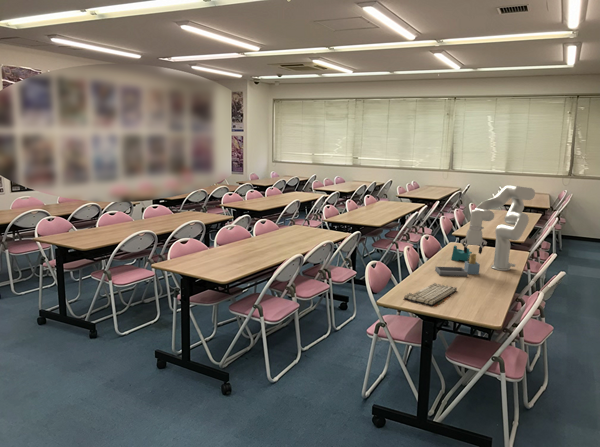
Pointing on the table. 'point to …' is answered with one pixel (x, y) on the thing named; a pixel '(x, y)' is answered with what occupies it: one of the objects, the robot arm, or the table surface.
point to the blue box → (472, 268)
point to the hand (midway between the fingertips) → (472, 253)
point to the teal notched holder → (460, 254)
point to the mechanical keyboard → (431, 295)
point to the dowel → (472, 258)
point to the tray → (451, 271)
